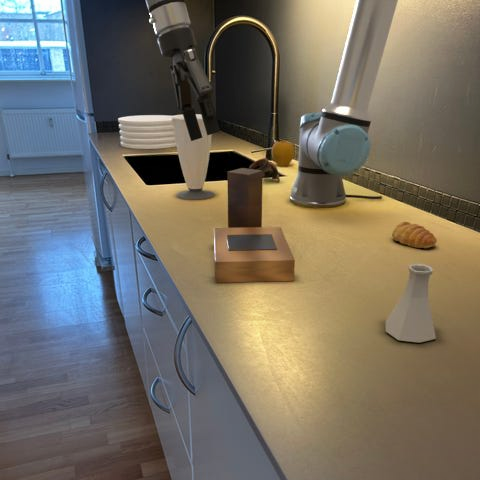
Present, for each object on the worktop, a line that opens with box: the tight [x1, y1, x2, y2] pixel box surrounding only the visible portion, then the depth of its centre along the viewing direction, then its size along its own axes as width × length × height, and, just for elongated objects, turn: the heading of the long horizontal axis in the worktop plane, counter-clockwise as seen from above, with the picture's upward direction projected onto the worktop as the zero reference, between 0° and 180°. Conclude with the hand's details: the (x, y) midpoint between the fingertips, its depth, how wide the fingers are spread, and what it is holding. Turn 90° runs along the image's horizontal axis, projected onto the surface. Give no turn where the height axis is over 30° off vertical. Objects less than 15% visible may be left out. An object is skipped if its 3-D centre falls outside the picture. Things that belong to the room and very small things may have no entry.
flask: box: [384, 263, 437, 344], centre depth 72 cm, size 7×7×10 cm
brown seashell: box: [248, 157, 281, 184], centre depth 165 cm, size 12×10×8 cm
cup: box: [172, 113, 216, 201], centre depth 144 cm, size 12×12×22 cm
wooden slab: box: [213, 226, 296, 284], centre depth 99 cm, size 14×20×4 cm
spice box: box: [226, 167, 264, 228], centre depth 113 cm, size 6×6×14 cm
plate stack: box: [117, 114, 177, 150], centre depth 236 cm, size 28×28×12 cm
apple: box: [270, 140, 295, 167], centre depth 189 cm, size 9×8×9 cm
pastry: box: [391, 221, 438, 249], centre depth 109 cm, size 9×7×4 cm
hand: (204, 136), depth 113 cm, fingers open, 13 cm apart
